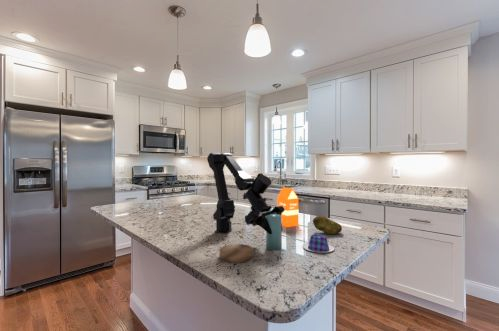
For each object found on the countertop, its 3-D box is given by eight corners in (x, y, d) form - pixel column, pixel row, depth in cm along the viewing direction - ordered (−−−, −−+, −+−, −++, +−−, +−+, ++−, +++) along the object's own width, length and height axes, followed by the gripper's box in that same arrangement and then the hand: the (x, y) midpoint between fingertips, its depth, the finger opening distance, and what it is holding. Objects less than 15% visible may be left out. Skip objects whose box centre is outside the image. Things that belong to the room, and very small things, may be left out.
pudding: (337, 247, 101) (337, 234, 101) (330, 256, 91) (330, 242, 91) (308, 242, 107) (308, 230, 107) (298, 250, 97) (298, 237, 97)
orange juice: (287, 221, 143) (287, 186, 142) (298, 225, 135) (298, 188, 135) (277, 223, 139) (276, 187, 138) (287, 227, 131) (287, 189, 131)
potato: (340, 237, 114) (340, 219, 113) (311, 233, 119) (311, 216, 119) (342, 232, 121) (342, 215, 121) (315, 229, 127) (315, 213, 127)
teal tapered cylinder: (264, 249, 98) (264, 216, 97) (268, 244, 103) (268, 213, 103) (279, 251, 96) (279, 217, 95) (283, 246, 101) (283, 214, 101)
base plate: (213, 260, 87) (213, 253, 87) (228, 248, 99) (228, 242, 98) (246, 265, 83) (246, 257, 83) (257, 252, 94) (257, 246, 94)
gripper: (262, 209, 117) (280, 238, 109) (231, 215, 104) (249, 248, 96) (275, 194, 111) (295, 223, 103) (243, 198, 98) (264, 232, 90)
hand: (276, 232), depth 98 cm, fingers closed on teal tapered cylinder, 6 cm apart
